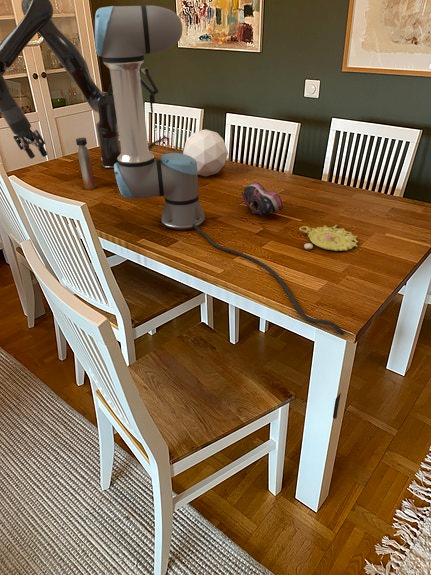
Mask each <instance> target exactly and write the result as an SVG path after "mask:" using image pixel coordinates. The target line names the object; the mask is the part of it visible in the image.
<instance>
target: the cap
mask: <svg viewBox="0 0 431 575" xmlns="http://www.w3.org/2000/svg"><path fill="white" fill-rule="evenodd" d="M75 142H76V143H75V144H76V145H77V146H78V147H79V146H81V145H86V146H87V145H88V141H87V138H86V137H77V138H76V139H75Z"/></svg>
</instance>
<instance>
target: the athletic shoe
mask: <svg viewBox="0 0 431 575" xmlns="http://www.w3.org/2000/svg"><path fill="white" fill-rule="evenodd" d="M241 197H242V199H243V201H238V203H239V204H241V205H245V206H246V207H247V208H248V210H249V211H250V210H251V213H252V214H255V215H260V217H266V216H267V215H270V214H274V213H275V212H279V211H282V210H283V209H284V205H283V201H282V198H281V196H280V195H279V194H278V192H277V191H274V190H269V191H267V190H266V189H265V187H264V186H263V185H262V184H261V183H258V182H251V183H249V184H247V186H246V187H245V188H244V190H243V191H242V192H241Z"/></svg>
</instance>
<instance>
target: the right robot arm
mask: <svg viewBox="0 0 431 575" xmlns="http://www.w3.org/2000/svg"><path fill="white" fill-rule="evenodd" d="M182 35H183V23H182V20H181V18H180V16H179V15H178V14H177V13H176V12H174V11H173V10H172V9H170V8H166V7H163V6H158V5H148V4H147V5H127V6H126V5H119V6H117V5H111V6H103V7H99V8H98V9H97V10H96V12H95V15H94V40H95V41H94V42H95V53H96V55H97V57H98V56H99V57H102V62H103V65H105V66H106V68H108V70H109V74H110V83H109V85H108V88H107V91H106V92H107V95H108V96H111V97H112V100H113V105H114V106H115V110H116V117H117V132H118V139H119V146H120V152H121V154H120V155H119V156H118V158H117V159H118V163H115V164H114V168H113V170H114V175H115V181H116V183H117V187H118V190H119V192H120V195H121V196H122V198H124V199H134V200H135V199H136V200H138V199H146V198H157V197H164V204H163V209H162V213H161V219H160V220H161V225H162V227H163V228H165V229H167V230H170V231H175V232H176V231H177V232H185V231H186V232H187V231H192V230H196V231H197V232H198V233H200V234H201V235H202V236H203V237H204V238H205V239H206V240H207V241H208V242H209V244H210V245H211V246H213V247H215V248H216V249H218V250H221V251H225V252H228V253H232V254H235V255H237V256H240V257H243V258H245V259H247V260H250V261H251V262H254V263H256V264H257V265H259V266H261V267H262V268H263V269H265V270H266V271H268V272H269V273H270V274H271V275H272V276H273V277H274V278H275V279H276V280H277V282H278V283H279V284H280V285H281V287H282V288H283V291H284V292H285V293H286V295H287V296H288V299H289V300H290V301H291V303H292V304H293V306H294V308H295V310H296V312H297V313H298V315H300V317H302V318H303V319H304V320H306V321H308V322H311V323H314V324H321V325H327V326H330V327H331V328H334V329H335V330H336V331H337V333H338V334H339V335H341V336H344V335H345V332H344V331H343V329H342V328H341V327H340V326H339V325H338V324H336V323H335V322H333V321H330V320H327V319H320V318H314V317H311V316H309V315H307V314H306V313H305V312H303V310H302V309H301V308H300V306H299V303H298V301H297V300H296V298H295V297H294V295H293V294H292V292H291V291H290V289H289V287H288V286H287V285H286V283H285V282H284V280H282V278H281V276H280V275H279V274H277V272H275V271H274V269H272V268H271V267H269V266H268V265H267V264H266V263H264V262H262V261H260V260H259V259H256V258H255V257H253V256H250V255H249V254H246V253H242V252H241V251H237V250H235V249H232V248H228V247H224V246H221V245H219V244H217V243H215V241H213V240H212V238H210V236H209V235H208V234H207V233H205V231H203V230H202V229H201V227H202V226H203V225H204V224H205V223H206V215H205V212H204V210H203V208H202V204H201V202H200V196H199V179H198V177H199V176H198V171H197V163H196V161H195V159H194V158H192V157H191V156H188V155H185V154H183V153H178V152H170V153H169V152H168V153H163V154H162V155H161V156H160V159H157V160H156V159H155V154H153V153H152V152H151V151H150V149H148V146H149V143H148V142H149V141H148V134H147V132H148V131H147V125H146V124H147V123H146V113H145V106H144V97H143V96H144V95H143V87H144V88H145V89H146V90H147V91H148V93H149V94H148V96H149V105H150V114H153V113H154V107H153V104H155V103H156V100H155V95H157V94H158V93H159V89H158V87H157V85H156V84H155V82H154V80H153V78H152V76H151V75H150V73H149V69H148V67H143V68H141V66H142V65H143V64H144V63H145V55H146V54H147V55H148V54H149V55H150V54H157V53H161V52H164V51H168V50H169V49H171V48H173V47H174V46H176V45H177V44H178V43H179V42H180V40H181V39H182ZM142 73H143V75H145V76H146V78H147V80H148V82H149V83H150V85H151V87H152V88H151V87H150V86H149V85H148V84H147V82H145V81H144V79H142V77H141V76H142V75H141V74H142ZM341 394H342V392H340V393H339V394H338V395H337V396H336V398H335V401H334V405H333V414H332V419H334V420H336V419H337V418H338V412H339V411H338V410H339V406H340V400H341Z"/></svg>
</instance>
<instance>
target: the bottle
mask: <svg viewBox="0 0 431 575" xmlns="http://www.w3.org/2000/svg"><path fill="white" fill-rule="evenodd" d="M77 156H78V164H79V168H80V172H81V173H80V174H81V179H82V184H83V188H84V190H88V191H89V190H94V189H96V188H97V187H96V180H95V175H94V169H93V164H92V159H91V158H92V157H91V153H90V150H89V149H88V147H87V144H86V145H81V146H79V145H78V149H77Z"/></svg>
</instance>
